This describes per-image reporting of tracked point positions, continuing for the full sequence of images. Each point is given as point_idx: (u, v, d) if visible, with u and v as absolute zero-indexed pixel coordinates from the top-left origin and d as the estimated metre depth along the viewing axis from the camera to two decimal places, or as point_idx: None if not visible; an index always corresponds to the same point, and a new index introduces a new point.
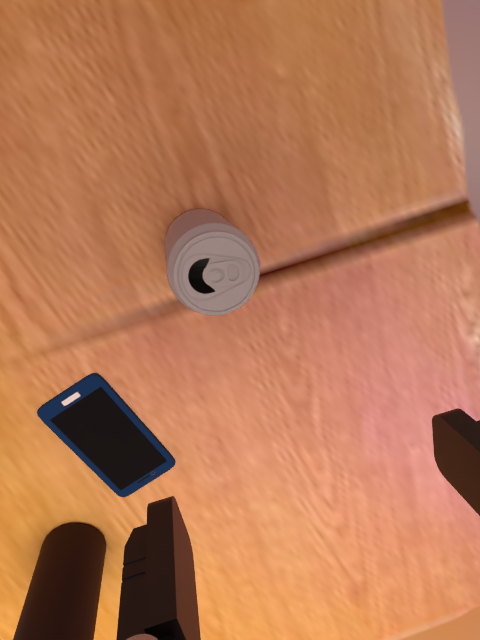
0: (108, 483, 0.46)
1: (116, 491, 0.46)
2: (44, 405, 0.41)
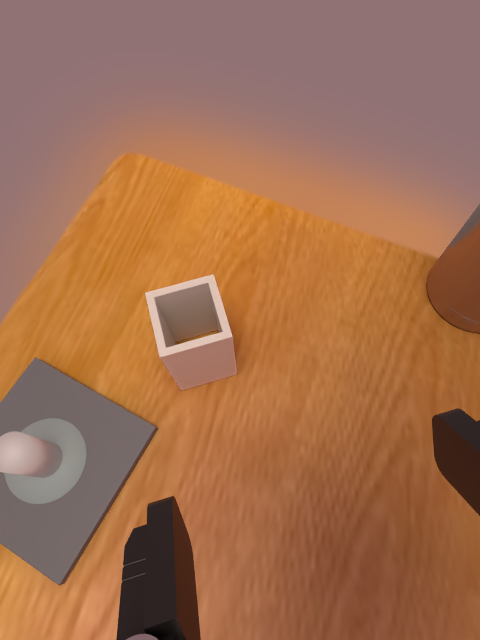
0: None
1: None
2: None
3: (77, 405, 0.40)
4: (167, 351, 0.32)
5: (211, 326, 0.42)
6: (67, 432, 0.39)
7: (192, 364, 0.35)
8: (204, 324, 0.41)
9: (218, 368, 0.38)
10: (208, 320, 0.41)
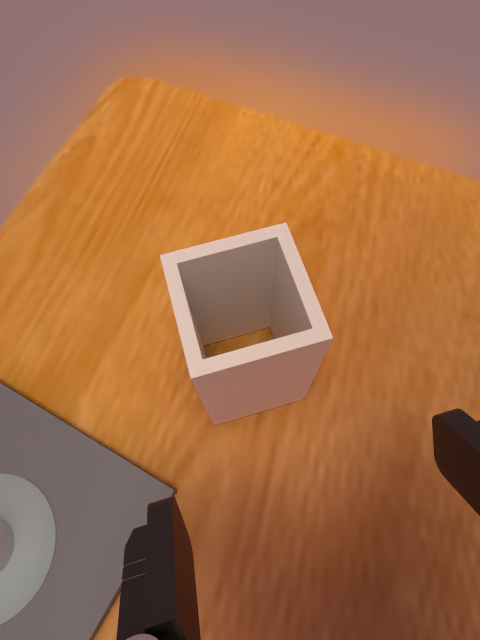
0: None
1: None
2: None
3: (43, 451, 0.24)
4: (205, 366, 0.16)
5: (261, 321, 0.26)
6: (24, 498, 0.23)
7: (244, 388, 0.19)
8: (252, 317, 0.25)
9: (282, 391, 0.22)
10: (259, 311, 0.25)
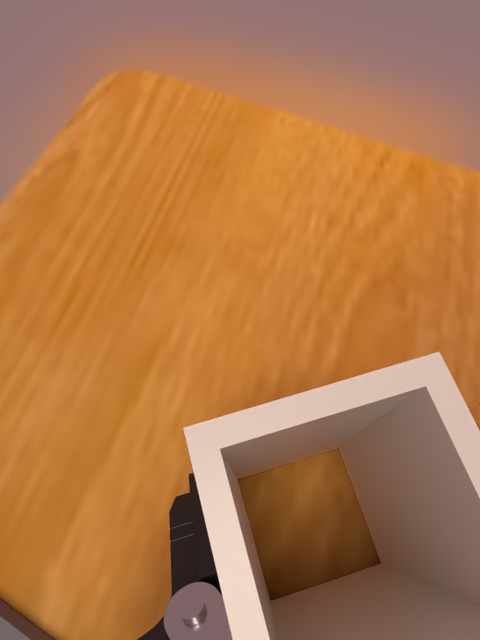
0: None
1: None
2: None
3: None
4: None
5: (331, 447, 0.17)
6: None
7: None
8: (319, 449, 0.16)
9: None
10: (334, 443, 0.15)
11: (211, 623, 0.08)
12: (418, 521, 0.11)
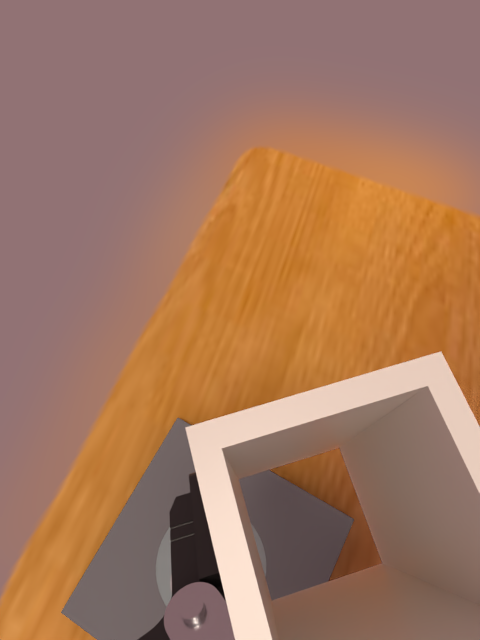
0: None
1: None
2: None
3: (243, 486, 0.30)
4: None
5: (332, 447, 0.17)
6: None
7: None
8: (320, 449, 0.16)
9: None
10: (335, 443, 0.15)
11: (211, 623, 0.08)
12: (419, 521, 0.11)
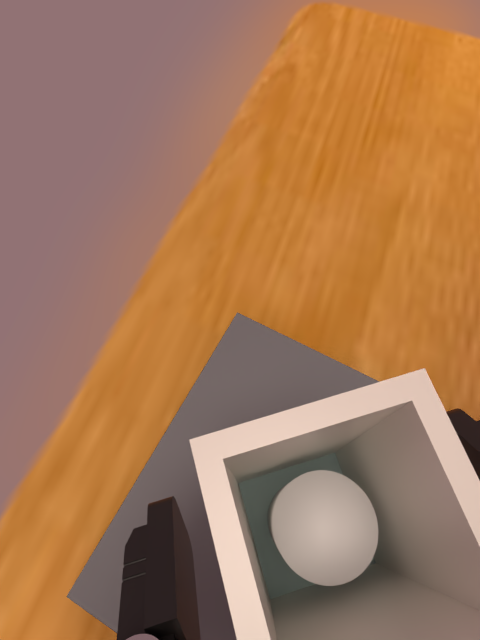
0: None
1: None
2: None
3: None
4: None
5: (327, 452, 0.18)
6: (335, 460, 0.19)
7: None
8: (316, 454, 0.17)
9: None
10: (330, 449, 0.16)
11: None
12: (408, 524, 0.12)
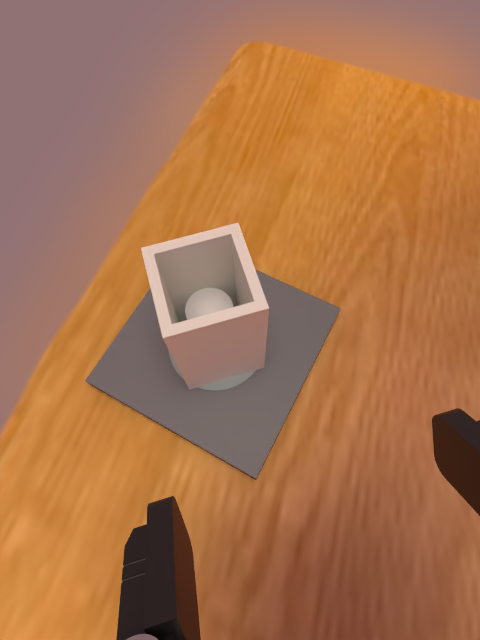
0: None
1: None
2: None
3: None
4: (173, 329, 0.22)
5: None
6: None
7: (207, 351, 0.25)
8: None
9: (241, 358, 0.28)
10: None
11: None
12: None
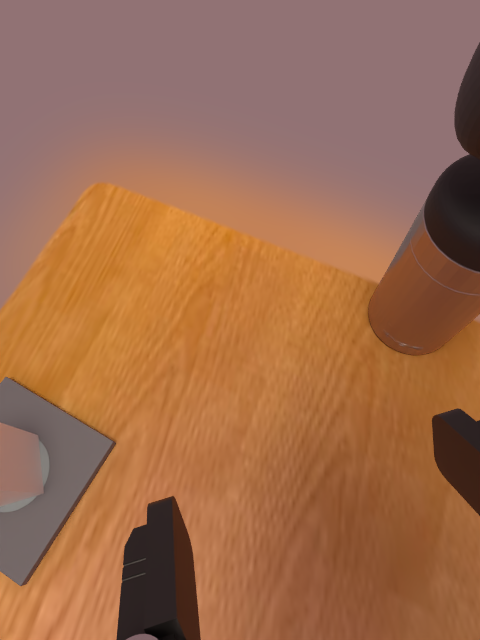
0: None
1: None
2: None
3: (43, 421, 0.43)
4: None
5: None
6: None
7: None
8: None
9: (6, 497, 0.37)
10: None
11: None
12: None
